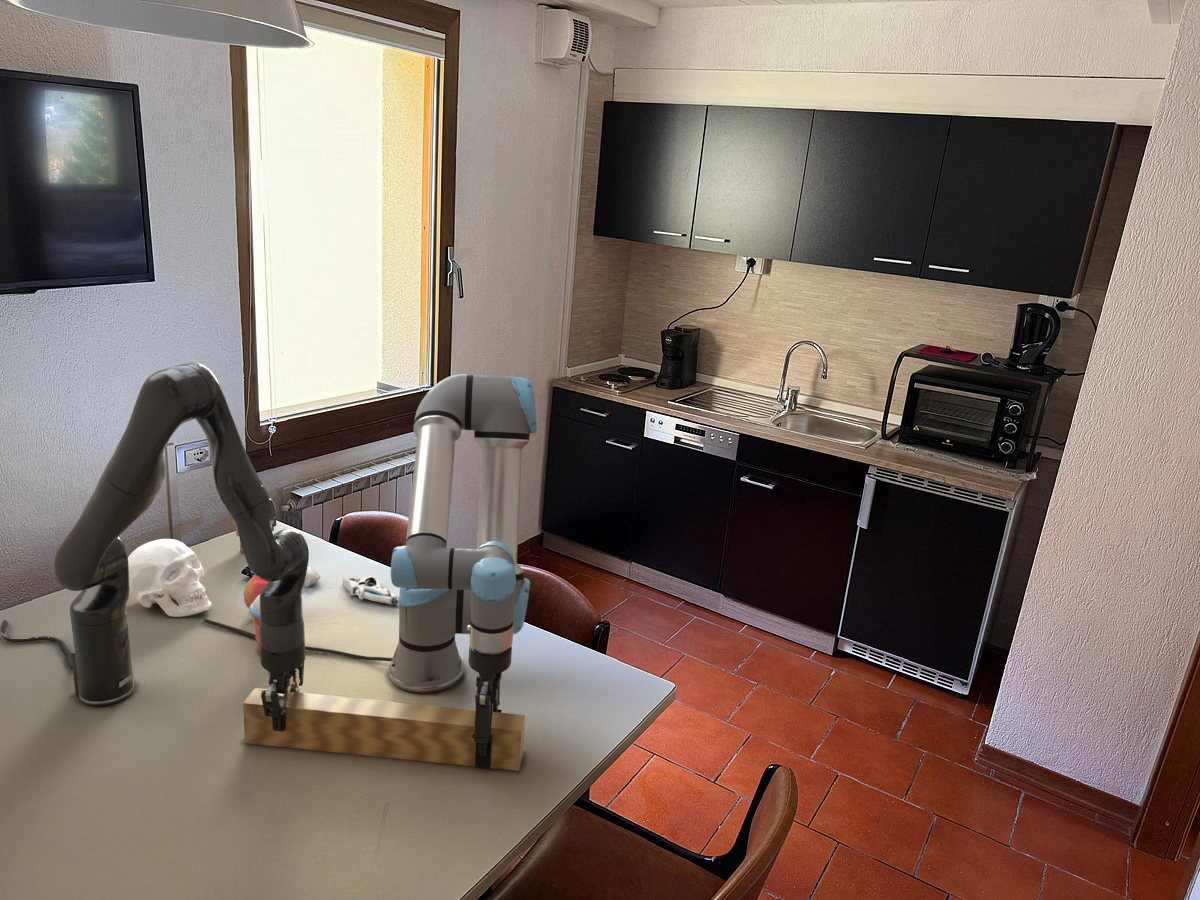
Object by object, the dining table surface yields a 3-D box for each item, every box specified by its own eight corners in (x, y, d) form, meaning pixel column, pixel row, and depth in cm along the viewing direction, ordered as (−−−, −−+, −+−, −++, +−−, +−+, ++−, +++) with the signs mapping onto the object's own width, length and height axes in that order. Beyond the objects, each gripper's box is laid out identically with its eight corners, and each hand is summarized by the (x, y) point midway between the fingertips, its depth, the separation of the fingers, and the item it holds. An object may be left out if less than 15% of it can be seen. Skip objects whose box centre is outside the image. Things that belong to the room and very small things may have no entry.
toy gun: (415, 589, 214) (386, 601, 205) (414, 598, 214) (386, 611, 206) (361, 569, 222) (332, 580, 214) (361, 578, 223) (331, 589, 214)
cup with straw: (281, 663, 182) (278, 586, 176) (242, 655, 183) (238, 579, 178) (303, 642, 190) (301, 568, 185) (266, 635, 192) (263, 562, 186)
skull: (190, 626, 193) (187, 561, 188) (111, 606, 198) (107, 543, 194) (231, 603, 205) (229, 541, 201) (156, 585, 211) (152, 525, 206)
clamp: (253, 565, 223) (254, 542, 221) (265, 560, 226) (266, 537, 224) (309, 593, 215) (310, 569, 213) (320, 588, 218) (321, 564, 216)
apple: (273, 600, 207) (272, 562, 204) (297, 613, 202) (296, 575, 199) (237, 614, 200) (234, 575, 197) (261, 628, 194) (259, 588, 191)
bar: (522, 754, 160) (525, 714, 157) (519, 771, 155) (521, 730, 152) (256, 727, 161) (254, 687, 158) (244, 743, 156) (242, 703, 154)
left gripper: (278, 617, 159) (281, 697, 164) (243, 658, 146) (248, 743, 151) (318, 621, 159) (319, 700, 164) (286, 662, 145) (289, 747, 150)
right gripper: (479, 618, 159) (474, 725, 166) (458, 670, 142) (454, 787, 149) (519, 622, 159) (513, 729, 166) (503, 674, 142) (497, 791, 149)
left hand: (285, 720), depth 157 cm, fingers closed on bar, 5 cm apart
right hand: (485, 756), depth 157 cm, fingers closed on bar, 5 cm apart
